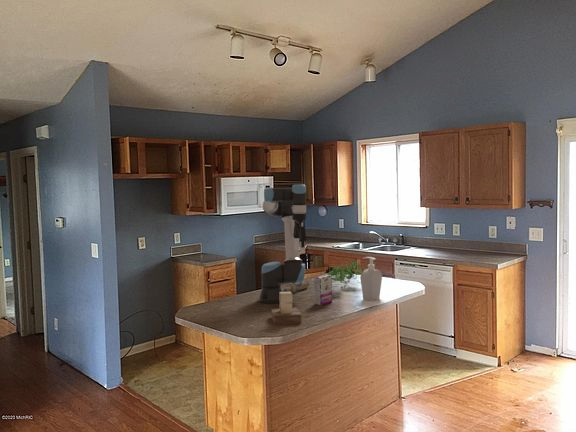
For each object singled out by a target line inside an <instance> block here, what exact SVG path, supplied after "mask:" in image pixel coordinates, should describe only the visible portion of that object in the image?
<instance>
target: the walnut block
mask: <svg viewBox="0 0 576 432" xmlns="http://www.w3.org/2000/svg"><path fill="white" fill-rule="evenodd" d="M270 311H271V312H270V315H271V316H270V317H271V321H272V322H273V325H275V326H276V325H295V324H302V313H301V312H300V310H299V309H298V308H297V307H292V313H281V312H280V311H279V308H271V309H270Z"/></svg>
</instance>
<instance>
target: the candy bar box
mask: <svg viewBox="0 0 576 432" xmlns="http://www.w3.org/2000/svg"><path fill="white" fill-rule="evenodd" d="M332 278H333V276H332V275H327V274H322V275H319V276H315V277H314V304H315V305H316V304H317V306H323V304H324V305H327V304H331V303H332V302H333V289H332V288H333V281H332V280H333V279H332ZM326 303H327V304H326Z"/></svg>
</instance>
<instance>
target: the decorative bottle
mask: <svg viewBox="0 0 576 432" xmlns="http://www.w3.org/2000/svg"><path fill="white" fill-rule="evenodd" d="M309 286H310V282H309V280H308V279H306V278H304V280H303V282H301V283H287V285H286V287H284V288H283V289H282V292H291V293H292V294H294V293H297V292H299V291H301V290H305V289H307V288H309Z"/></svg>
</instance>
